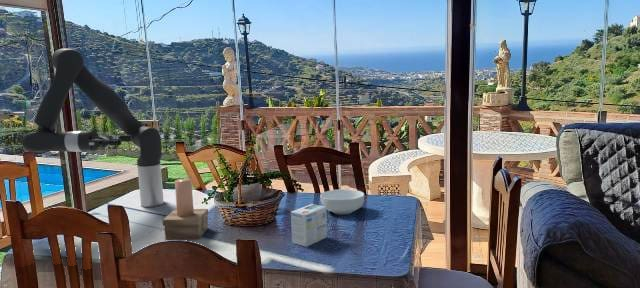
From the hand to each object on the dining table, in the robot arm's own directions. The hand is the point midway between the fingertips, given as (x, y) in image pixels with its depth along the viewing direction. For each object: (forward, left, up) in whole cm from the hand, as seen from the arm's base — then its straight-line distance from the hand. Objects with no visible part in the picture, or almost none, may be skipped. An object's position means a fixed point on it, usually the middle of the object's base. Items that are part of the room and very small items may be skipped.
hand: (126, 140), depth 173 cm
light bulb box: (+18, +66, -32) cm, 76 cm away
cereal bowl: (-13, +77, -32) cm, 85 cm away
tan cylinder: (+10, +23, -25) cm, 35 cm away
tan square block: (+10, +23, -32) cm, 41 cm away
